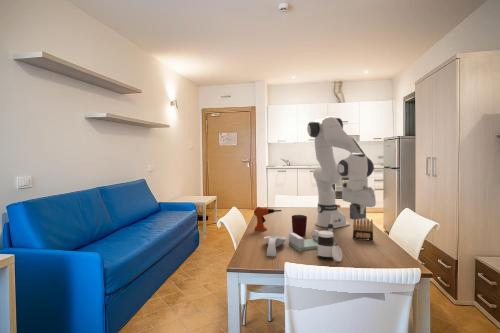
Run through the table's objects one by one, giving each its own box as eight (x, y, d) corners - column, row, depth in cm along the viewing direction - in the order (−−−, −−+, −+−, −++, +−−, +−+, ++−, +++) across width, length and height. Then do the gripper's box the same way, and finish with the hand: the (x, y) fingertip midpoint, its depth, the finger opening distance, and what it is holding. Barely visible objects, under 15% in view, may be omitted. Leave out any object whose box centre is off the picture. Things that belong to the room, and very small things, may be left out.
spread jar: (317, 252, 143) (318, 229, 142) (341, 254, 139) (342, 231, 139) (316, 261, 131) (316, 236, 130) (342, 264, 128) (342, 238, 127)
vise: (324, 239, 162) (324, 229, 162) (336, 245, 152) (336, 234, 151) (288, 244, 155) (288, 233, 155) (298, 250, 145) (298, 239, 144)
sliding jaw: (326, 236, 163) (327, 221, 162) (338, 242, 152) (339, 226, 152) (311, 238, 159) (312, 222, 159) (323, 244, 149) (323, 227, 149)
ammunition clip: (352, 239, 164) (353, 218, 163) (352, 238, 165) (353, 217, 165) (373, 240, 160) (373, 219, 160) (372, 239, 162) (373, 218, 161)
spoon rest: (265, 241, 161) (265, 228, 161) (286, 242, 159) (286, 229, 159) (259, 256, 138) (259, 241, 137) (284, 258, 136) (284, 243, 136)
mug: (290, 231, 180) (291, 213, 179) (305, 231, 179) (305, 213, 178) (292, 236, 168) (292, 218, 167) (307, 237, 167) (307, 218, 166)
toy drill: (282, 231, 174) (279, 206, 174) (253, 231, 182) (251, 208, 181) (284, 229, 179) (282, 205, 179) (256, 229, 186) (253, 206, 186)
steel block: (361, 216, 147) (361, 203, 147) (366, 218, 144) (366, 204, 144) (349, 218, 145) (349, 204, 144) (353, 219, 142) (353, 205, 141)
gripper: (379, 187, 135) (378, 216, 136) (349, 182, 154) (349, 208, 155) (368, 188, 133) (368, 218, 134) (339, 183, 152) (339, 209, 153)
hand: (358, 212), depth 144 cm, fingers closed on steel block, 3 cm apart
